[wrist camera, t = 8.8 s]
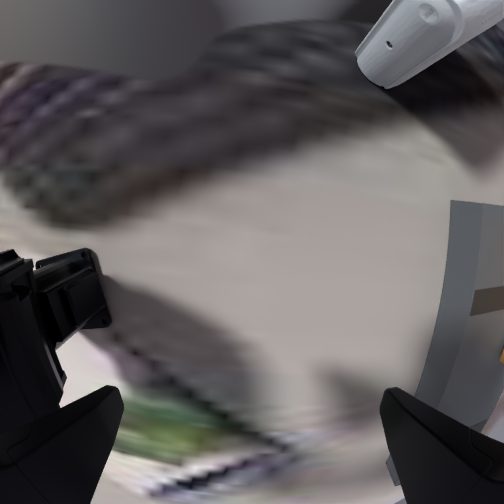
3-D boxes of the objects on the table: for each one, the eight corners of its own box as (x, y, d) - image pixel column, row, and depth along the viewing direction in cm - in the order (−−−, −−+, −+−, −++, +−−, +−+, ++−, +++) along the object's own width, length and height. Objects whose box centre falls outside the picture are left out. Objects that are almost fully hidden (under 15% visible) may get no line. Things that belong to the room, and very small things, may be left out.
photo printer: (382, 100, 17) (493, 30, 5) (343, 56, 16) (415, -50, 4) (449, 51, 15) (537, -1, 3) (416, 14, 15) (489, -55, 3)
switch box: (385, 463, 24) (395, 486, 20) (450, 200, 18) (483, 203, 14) (449, 443, 24) (461, 462, 20) (518, 208, 18) (546, 213, 14)
